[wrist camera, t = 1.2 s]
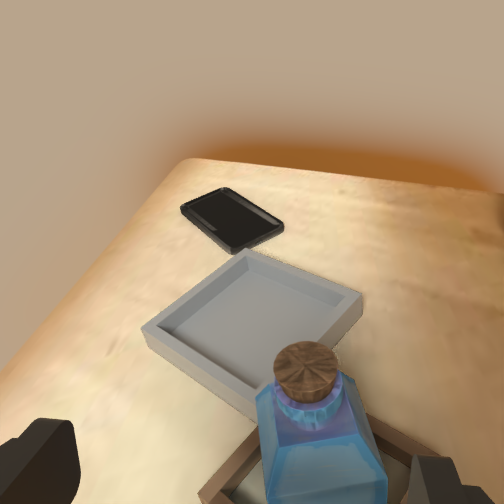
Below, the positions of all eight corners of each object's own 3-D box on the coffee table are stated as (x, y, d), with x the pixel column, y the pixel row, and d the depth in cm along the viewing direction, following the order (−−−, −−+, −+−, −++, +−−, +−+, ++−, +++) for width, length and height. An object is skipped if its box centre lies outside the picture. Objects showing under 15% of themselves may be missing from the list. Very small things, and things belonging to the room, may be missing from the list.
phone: (225, 185, 64) (287, 224, 53) (227, 192, 65) (288, 232, 54) (176, 206, 62) (230, 252, 51) (178, 213, 62) (232, 260, 51)
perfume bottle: (281, 551, 26) (247, 433, 19) (268, 452, 31) (238, 331, 24) (386, 533, 26) (389, 408, 19) (356, 437, 31) (350, 311, 24)
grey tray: (249, 266, 49) (245, 247, 48) (362, 314, 41) (361, 293, 39) (148, 347, 42) (140, 327, 40) (261, 427, 33) (256, 406, 31)
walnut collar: (304, 388, 35) (302, 376, 34) (444, 472, 28) (446, 459, 27) (202, 504, 29) (197, 493, 28) (350, 645, 22) (349, 635, 21)
